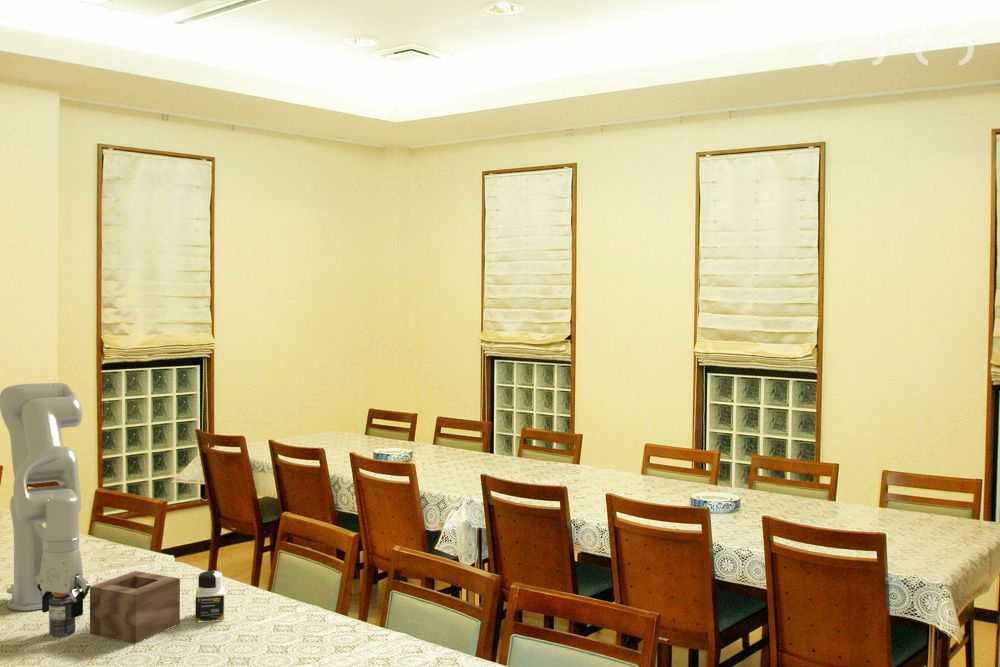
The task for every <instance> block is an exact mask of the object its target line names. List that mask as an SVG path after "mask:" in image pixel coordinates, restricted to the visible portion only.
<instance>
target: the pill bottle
mask: <svg viewBox="0 0 1000 667" xmlns="http://www.w3.org/2000/svg"><path fill="white" fill-rule="evenodd" d="M71 602H73V600H72V598H71V596H70V594H58V593H53V597H52V598H51V599H50V601H49V611H48V613H49V614H48V628H49V629H48V630H49V631H48V632H49V633H48V634H49V636H51V637H53V638H63V637H67V636H71V635H73V634H74V633H75V632H76V630H77V629H76V617H75V618H71Z"/></svg>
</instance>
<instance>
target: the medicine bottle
mask: <svg viewBox="0 0 1000 667" xmlns="http://www.w3.org/2000/svg"><path fill="white" fill-rule="evenodd" d="M197 579H198V582H197V583H198V586H197V588H196V592H195V602H194V603H195V607H194V609H195V614H194V615H195V619H194V621H195V623H196V622H199V621H213V620H214V622H217V621H216V620H223V621H225V608H226V607H225V600H226V599H225V598H226V597H225V596H226V594H225V591H226V589H225V586H223V573H222V572H220V571H217V570H206V571H203V572H201V573H200V574H198V578H197Z"/></svg>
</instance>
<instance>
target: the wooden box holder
mask: <svg viewBox="0 0 1000 667" xmlns="http://www.w3.org/2000/svg"><path fill="white" fill-rule="evenodd" d="M180 601H181V578H180V577H175V576H174V577H173V576H168V575H162V574H157V573H149V572H144V571H139V570H137V571H136V570H133V571H131V572H128V573H125V574H122V575H119V576H117V577H113V578H111V579H108V580H105V581H102V582H100V583H96V584H94V585H90V588H89V635H92V636H97V637H101V638H106V639H111V640H116V641H120V640H121V641H120V642H126V643H130V642H131V643H132V644H135V643H137V644H139V643H141V642H144V641H145V640H144V639H146V640H148V639H150V638H152V637H151V636H153V635H155V634H157V633H159V634H161V633H160V632H162V631H164V630H166V629H168V628H171V627H173V626H175V625H177V626H179V625H178V624H180V622H181V614H180V611H181V610H180V609H181V608H180V607H181V602H180ZM180 625H181V624H180ZM175 627H176V626H175ZM173 628H174V627H173ZM171 629H172V628H171ZM168 630H169V629H168ZM166 631H167V630H166ZM164 632H165V631H164ZM162 633H163V632H162ZM157 635H158V634H157ZM155 636H156V635H155ZM149 637H150V638H149ZM153 637H154V636H153ZM147 638H148V639H147ZM143 640H144V641H143ZM140 641H141V642H140ZM138 642H139V643H138Z"/></svg>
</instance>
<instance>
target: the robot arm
mask: <svg viewBox="0 0 1000 667" xmlns="http://www.w3.org/2000/svg"><path fill="white" fill-rule="evenodd" d="M0 414H1V418H2V420H3V422H4V424H5V426H6V429H7V431H8V434H9V437H10V439H9V440H10V450H11V461H12V462H11V463H12V472H13V477H14V481H13V495H12V497H11V498H10V499H9V500H10V501H9V509H10V516H11V522H12V528H13V529H12V530H13V583H12V584H11V585H10V587H7V588H6V590H5V591H6V593H7V594H11V598H10V599H8V601H7V608H8V609H10V610H12V611H21V612H22V611H23V612H24V611H26V612H28V611H36V610H37V611H38V610H41V612H42V613H47V612H48V613H49V601H50V599H51V598H52V597H53V593H58V594H70V596H71V598H72V600H73V602H71V618H75V619H76V618H77V617H81V616H82V615H84V600H85V599H86V597H87V595H88V594H89V592H90V586H91V584H90V582H89V581H87V580H86V579H85V578H84V571H83V570H84V569H83V561H82V554H81V550H80V512H81V510H82V497H81V487H80V478H79V477H80V476H79V467H78V460H77V457H76V453H75V452H74V451H73V449H72V448H71V447H68V446H64V443H63V442H64V441H63V437H62V431H61V429H66V428H67V429H69V428H75V427H78V426H79V425H80V424H81V423H82V420H83V409H82V405H81V402H80V400H79V397H77V395H76V393H75V392H74V391H73V390H72V388H71V387H70V386H69V385H68V384H67V383H64V382H63V383H61V382H51V383H50V382H48V383H45V382H44V383H22V384H21V383H20V384H14V385H13V384H12V385H9V386H6V387H5V388H3V390H2V391H1V392H0ZM51 482H57V483H58V484H59V485H53V486H40V487H32V488H31V487H29V488H28V486H27V485H29V484H30V485H31V484H32V485H33V484H41V483H51ZM43 524H45V527H44V525H43ZM76 593H77V594H76Z"/></svg>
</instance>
